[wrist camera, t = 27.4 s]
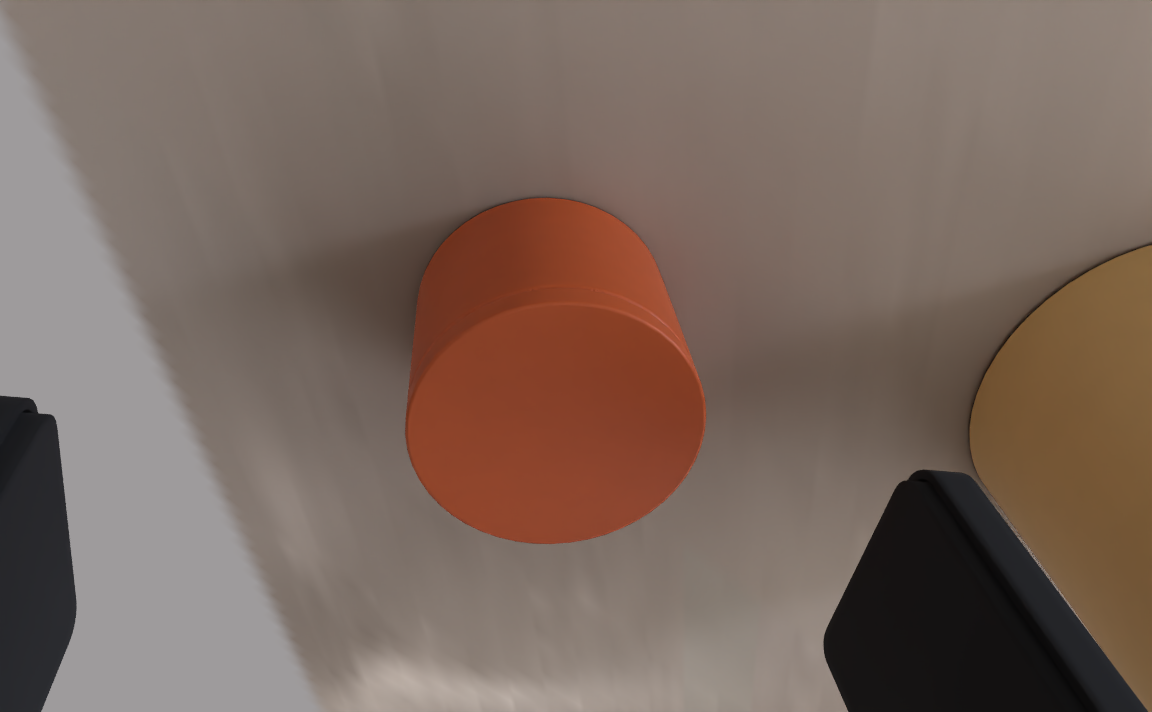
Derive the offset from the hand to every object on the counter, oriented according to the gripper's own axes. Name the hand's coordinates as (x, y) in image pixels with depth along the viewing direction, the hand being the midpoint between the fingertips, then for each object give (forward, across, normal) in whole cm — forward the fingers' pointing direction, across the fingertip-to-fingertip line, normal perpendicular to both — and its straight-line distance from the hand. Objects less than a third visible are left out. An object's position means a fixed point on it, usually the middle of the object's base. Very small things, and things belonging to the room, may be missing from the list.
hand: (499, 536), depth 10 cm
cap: (+5, -1, 0) cm, 5 cm away
